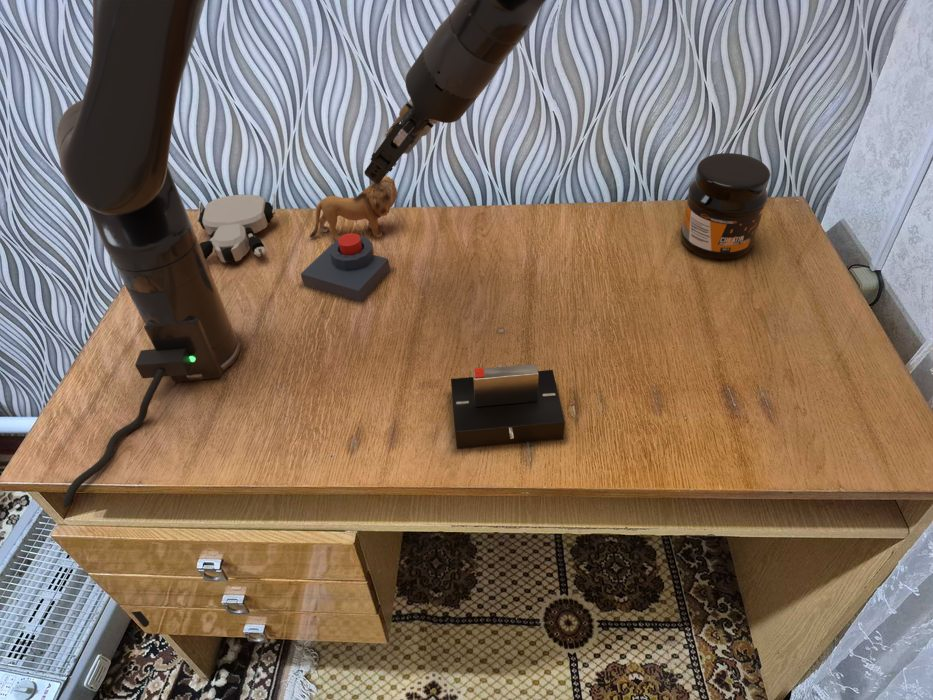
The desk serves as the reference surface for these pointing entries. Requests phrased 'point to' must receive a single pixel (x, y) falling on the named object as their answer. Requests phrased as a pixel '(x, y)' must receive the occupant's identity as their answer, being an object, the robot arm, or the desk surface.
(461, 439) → the panel
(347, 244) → the button
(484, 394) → the knob
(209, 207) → the robot toy
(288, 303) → the desk surface
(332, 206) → the lion figurine
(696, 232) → the supplement container
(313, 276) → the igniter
